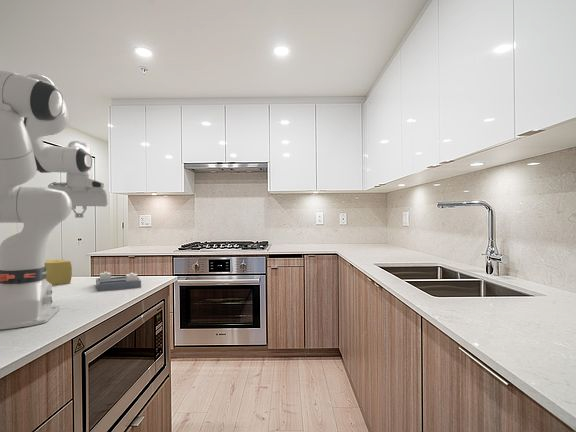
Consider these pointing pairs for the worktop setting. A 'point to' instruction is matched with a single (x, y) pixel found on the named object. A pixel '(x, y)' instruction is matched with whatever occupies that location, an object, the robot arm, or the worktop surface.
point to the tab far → (105, 276)
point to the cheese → (58, 271)
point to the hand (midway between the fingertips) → (79, 217)
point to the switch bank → (116, 283)
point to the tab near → (131, 277)
